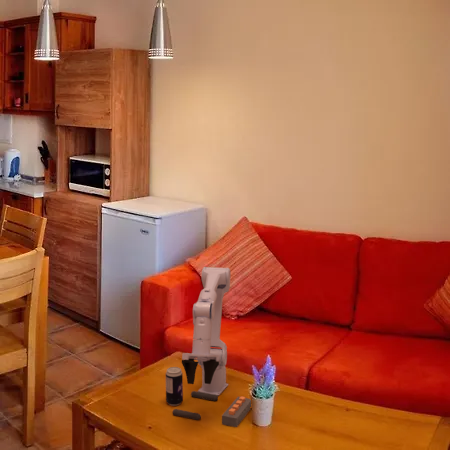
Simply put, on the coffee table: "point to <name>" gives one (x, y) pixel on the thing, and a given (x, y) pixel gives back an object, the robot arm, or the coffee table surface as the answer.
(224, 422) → the breaker strip
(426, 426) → the coffee table surface
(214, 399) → the cord
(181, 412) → the cord
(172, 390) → the beverage can
